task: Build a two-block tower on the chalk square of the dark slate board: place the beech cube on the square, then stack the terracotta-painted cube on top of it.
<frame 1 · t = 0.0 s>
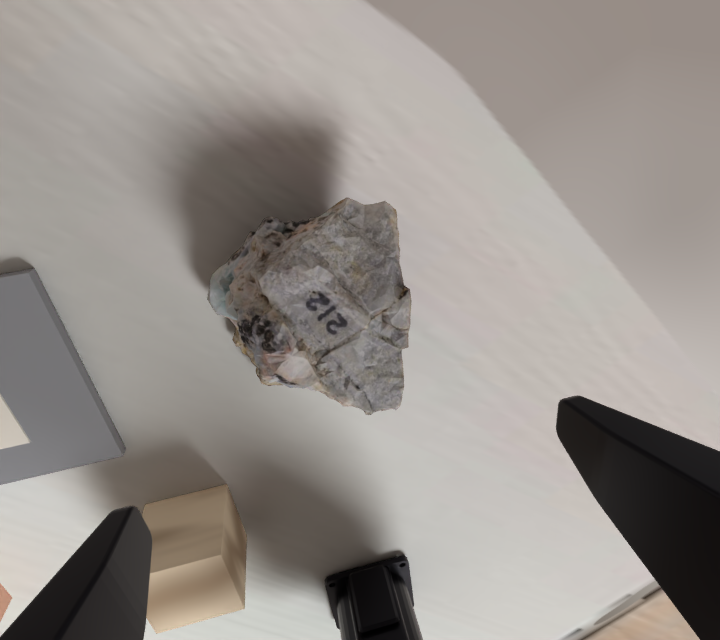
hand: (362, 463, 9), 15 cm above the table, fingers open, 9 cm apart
mineral specimen: (309, 284, 23), on the table
beech cube: (198, 519, 29), on the table
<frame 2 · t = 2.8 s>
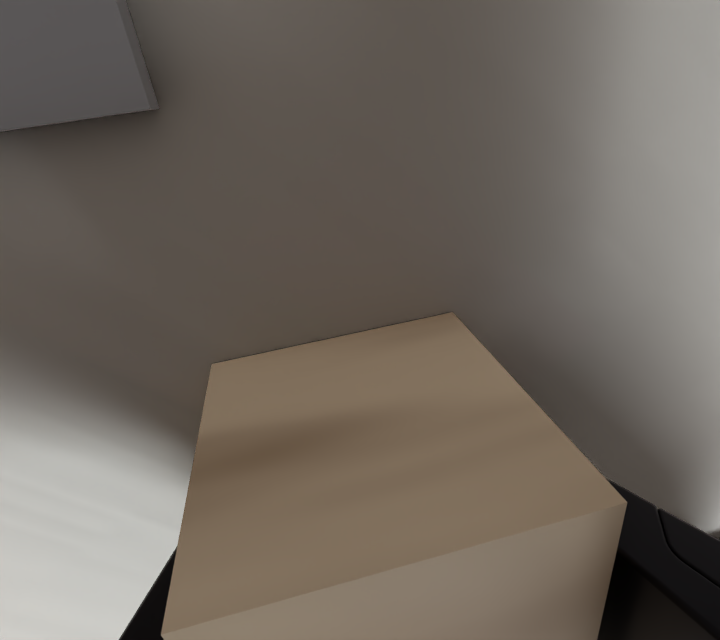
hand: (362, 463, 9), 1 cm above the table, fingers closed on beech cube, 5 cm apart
beech cube: (352, 430, 10), on the table, touching gripper
when the fingers open (3 cm above the table, at t = 6.5 s): beech cube drops 1 cm, resting on slate board.
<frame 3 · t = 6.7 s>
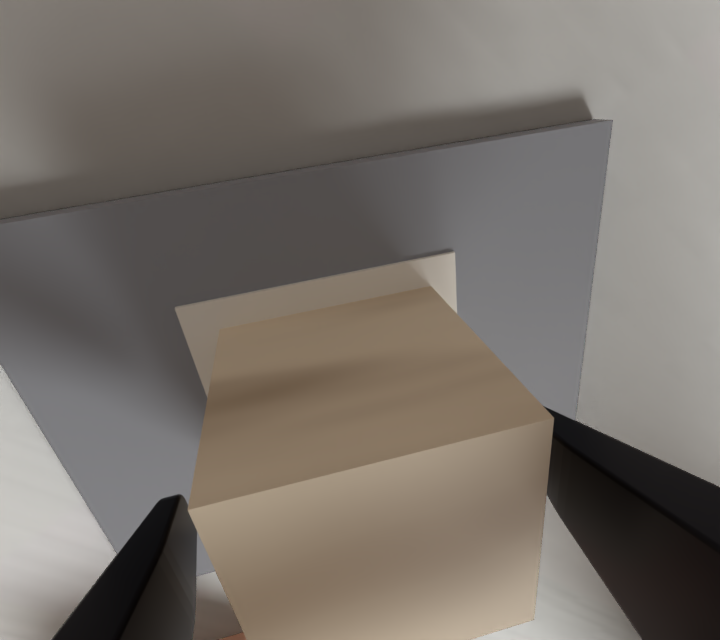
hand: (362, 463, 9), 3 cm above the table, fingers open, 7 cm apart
beech cube: (343, 393, 11), point 1 cm above the table, touching slate board
slate board: (337, 378, 12), on the table
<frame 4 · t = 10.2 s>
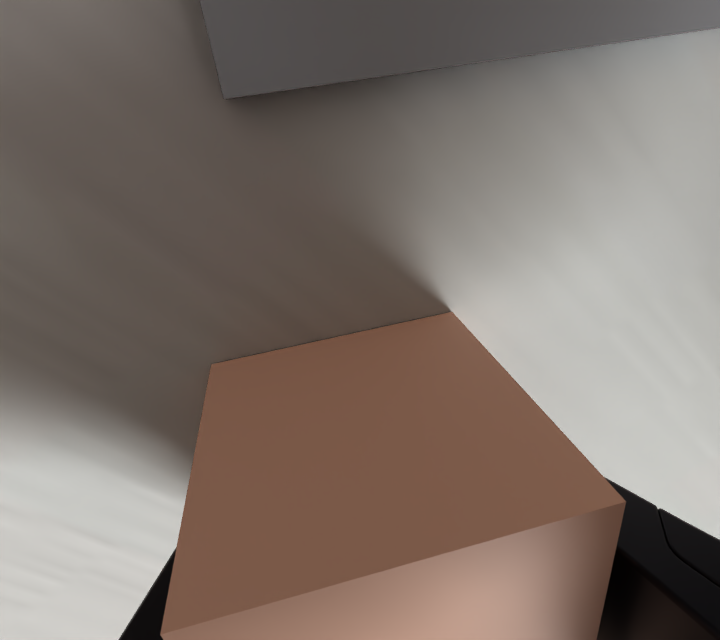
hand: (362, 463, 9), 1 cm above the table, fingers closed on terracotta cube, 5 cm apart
terracotta cube: (352, 430, 10), on the table, touching gripper
when the fingers open (8 cm above the table, at t = 13.6 s): terracotta cube drops 1 cm, resting on beech cube.
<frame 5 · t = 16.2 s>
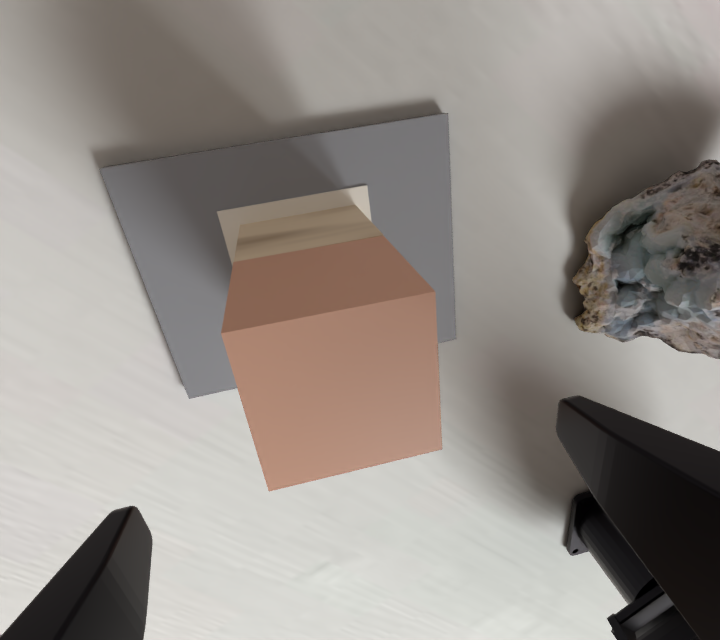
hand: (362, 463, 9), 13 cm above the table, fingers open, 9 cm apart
mineral specimen: (644, 241, 24), on the table
terracotta cube: (321, 315, 16), point 6 cm above the table, touching beech cube
beech cube: (309, 268, 20), point 1 cm above the table, touching slate board, terracotta cube
slate board: (306, 264, 21), on the table
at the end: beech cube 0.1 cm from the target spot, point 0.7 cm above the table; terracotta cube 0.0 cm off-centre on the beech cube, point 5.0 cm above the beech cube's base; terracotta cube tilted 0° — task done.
